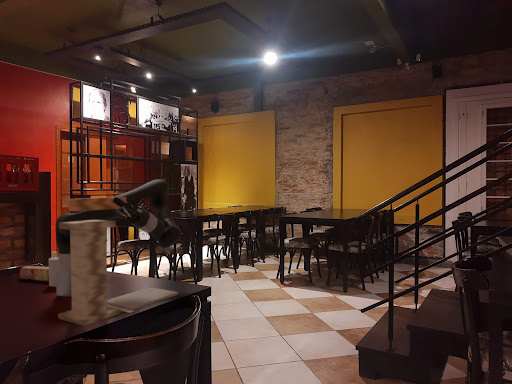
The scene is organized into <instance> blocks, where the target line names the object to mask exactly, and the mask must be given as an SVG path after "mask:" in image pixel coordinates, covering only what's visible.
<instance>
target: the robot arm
mask: <svg viewBox="0 0 512 384" xmlns="http://www.w3.org/2000/svg"><path fill="white" fill-rule="evenodd" d="M168 185H169V184H168V182H167V180H165V179H154V180H150V181H149V182H146V183H144V184H143V185H140V186H139V187H136V188H134V189H131V190H129V191H127V192H124V193H121V194H118V195H115V196H113V197H114V200H113V202H114V203H115V204H117V205H118V206H120V207H121V206H122V207H121V208H119V209H103V210H88V211H78V212H75V213H72V212H71V213H70V212H66V213H62V214H60V215H59V216H58V217H57V219H56V221H55V244H56V248H57V257H58V272H56V285H57V287H56V296H58V297H72V294H71V247H70V230H69V229H59V223H63V222H74V221H85V220H110V221H113V220H115V219H118V218H120V217H123V216H124V217H127V218H126V219H127V222H128V223H129V224H130V225H132V226H133V227H135V228H137V229H139V230H140V231H142V232H143V233H146V234H148V235H149V236H151V237H153V238H154V240H155V241H156V242H157V243H158V244H159V246H160V247H161V248H163V249H168V248H170V247H171V246H173V245H174V244H176V242H179V240H181V238H182V236H183V233H182V230H181V229H180V227H179V226H178V225H177V224H176V222H175V220H174V217H173V214H172V211H171V210H170V209H169V208H168V196H169V194H168V193H169V186H168ZM108 197H109V196H106V197H105V198H108ZM118 197H126V201H122V200H121V199H119V198H118ZM147 197H148V200H149V203H150V204H151V206H152V208H153V210H154V214H155V215H154V214H152V213H151V212H150V211H148V210H147V209H145V208H144V207H142V206H140V205H139V204H140V203H141V202H142V201H143V200H144V199H146V198H147ZM138 205H139V206H138Z"/></svg>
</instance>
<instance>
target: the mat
mask: <svg viewBox="0 0 512 384" xmlns="http://www.w3.org/2000/svg"><path fill="white" fill-rule="evenodd" d="M178 294H179V293H178V292H177V291H173V290H167V289H162V288H156V287H152V286H151V287H150V286H149V287H146V288H142V289H139V290H136V291H133V292H129V293H126V294H123V295H120V296H119V295H118V296H116V297H112V298H110V299H107V305H110V306H114V307H118V308H123V309H127V310H131V311H134V310H137V309H141V308H143V307H146V306H150V305H152V304H155V303H159V302H160V301H163V300H166V299H170V298H172V297H175V296H178Z"/></svg>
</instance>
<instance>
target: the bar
mask: <svg viewBox="0 0 512 384" xmlns="http://www.w3.org/2000/svg"><path fill="white" fill-rule="evenodd" d="M107 197H108V198H106V197H90V198H89V197H87V198H82V197H81V198H68V212H83V211H88V210H103V209H119V208H121V207H122V206H121V207H120V206H118V205H117V204H115V203H114V202H113V200H114V197H115V196H112V197H111V196H107ZM118 198H119V199H121V200H122V201H126V197H118Z"/></svg>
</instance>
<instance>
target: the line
mask: <svg viewBox="0 0 512 384" xmlns="http://www.w3.org/2000/svg"><path fill="white" fill-rule="evenodd" d="M107 306H110V305H107ZM110 307H114V306H110ZM114 308H119V307H114ZM119 309H121V312H125V313H127V314H133V313H135V311H134V310H127V309H123V308H119ZM132 312H133V313H132Z"/></svg>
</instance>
